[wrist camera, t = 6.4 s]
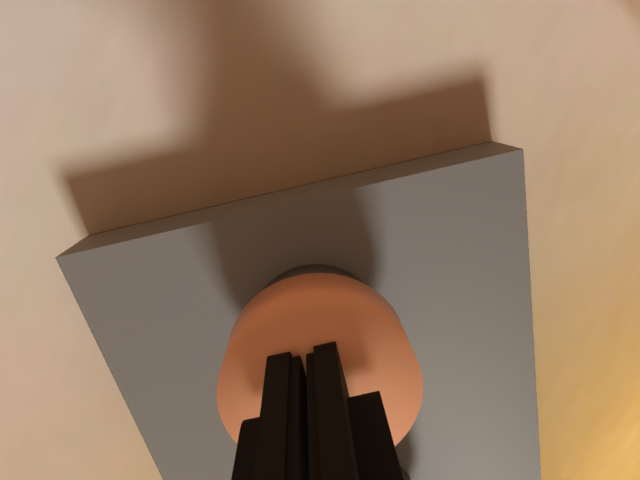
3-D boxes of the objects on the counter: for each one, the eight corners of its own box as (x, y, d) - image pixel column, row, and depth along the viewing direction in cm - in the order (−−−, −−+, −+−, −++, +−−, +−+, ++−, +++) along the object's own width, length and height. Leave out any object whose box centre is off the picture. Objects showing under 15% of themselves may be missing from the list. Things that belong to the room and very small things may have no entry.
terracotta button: (389, 254, 11) (406, 284, 9) (416, 404, 12) (435, 452, 11) (204, 296, 11) (187, 333, 9) (256, 438, 13) (249, 491, 11)
